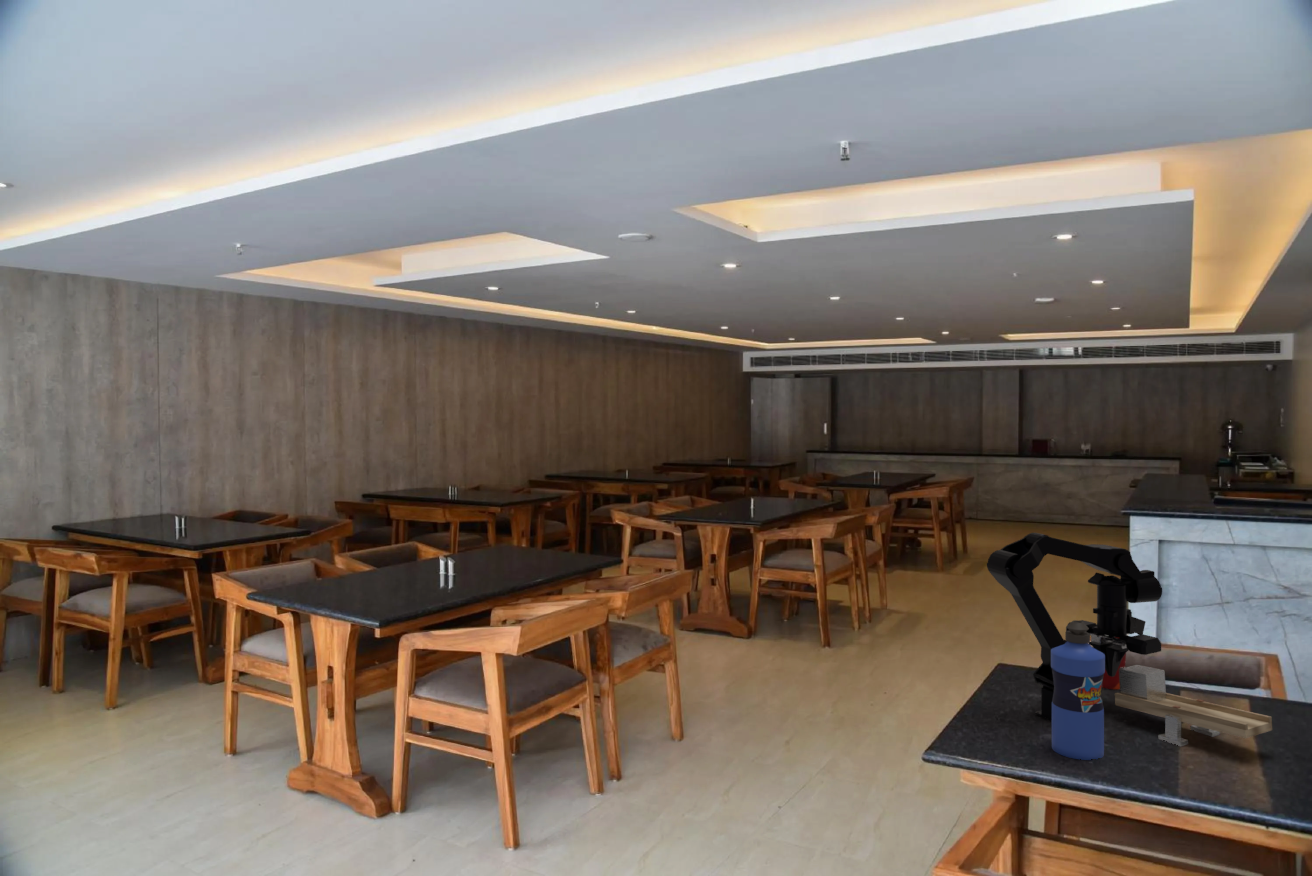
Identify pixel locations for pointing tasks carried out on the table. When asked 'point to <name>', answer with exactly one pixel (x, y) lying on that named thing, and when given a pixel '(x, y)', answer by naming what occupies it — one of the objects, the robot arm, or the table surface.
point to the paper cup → (1114, 681)
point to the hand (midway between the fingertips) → (1111, 676)
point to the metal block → (1143, 682)
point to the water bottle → (1077, 696)
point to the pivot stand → (1174, 731)
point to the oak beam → (1201, 714)
